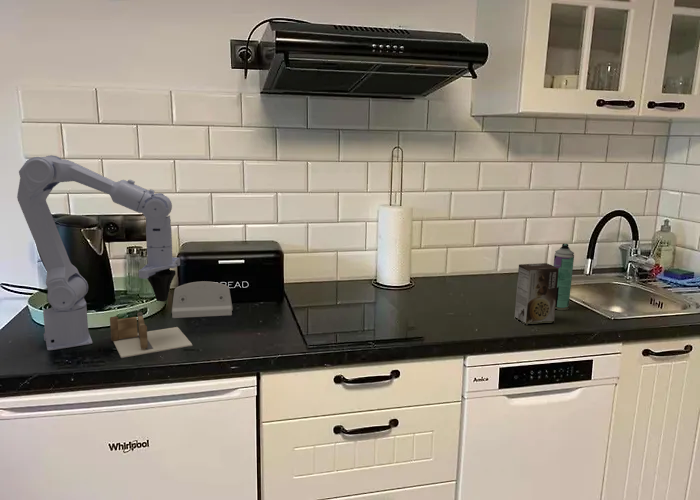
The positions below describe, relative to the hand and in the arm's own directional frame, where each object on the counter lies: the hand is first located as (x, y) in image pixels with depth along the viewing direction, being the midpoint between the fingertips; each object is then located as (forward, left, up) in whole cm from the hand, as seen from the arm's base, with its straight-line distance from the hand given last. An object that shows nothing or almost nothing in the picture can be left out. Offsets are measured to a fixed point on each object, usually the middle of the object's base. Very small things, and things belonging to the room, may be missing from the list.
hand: (161, 300), depth 134 cm
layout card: (-3, -1, -10) cm, 10 cm away
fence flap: (-5, -1, -9) cm, 11 cm away
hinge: (+15, +16, -10) cm, 24 cm away
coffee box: (+94, -33, -10) cm, 101 cm away
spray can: (+111, -28, -10) cm, 115 cm away
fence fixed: (-8, +4, -10) cm, 13 cm away
